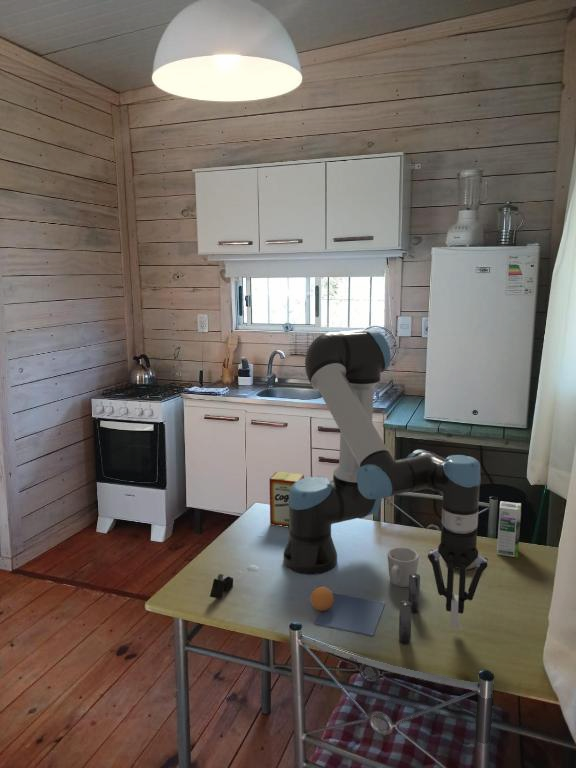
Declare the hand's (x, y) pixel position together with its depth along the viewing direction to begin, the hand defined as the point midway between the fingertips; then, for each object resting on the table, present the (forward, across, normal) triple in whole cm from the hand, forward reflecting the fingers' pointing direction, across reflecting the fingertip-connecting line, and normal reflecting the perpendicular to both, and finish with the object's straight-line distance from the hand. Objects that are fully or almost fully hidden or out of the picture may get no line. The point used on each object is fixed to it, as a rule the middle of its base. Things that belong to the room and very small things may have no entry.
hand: (454, 624), depth 136 cm
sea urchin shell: (+3, -1, +34) cm, 34 cm away
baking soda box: (+3, -56, +43) cm, 71 cm away
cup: (+3, -15, +17) cm, 23 cm away
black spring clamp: (+3, -57, -3) cm, 57 cm away
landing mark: (+2, -24, 0) cm, 24 cm away
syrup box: (+3, +11, +45) cm, 46 cm away
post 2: (+2, -10, +6) cm, 12 cm away
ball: (0, -31, 0) cm, 31 cm away
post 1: (+2, -10, -6) cm, 12 cm away
